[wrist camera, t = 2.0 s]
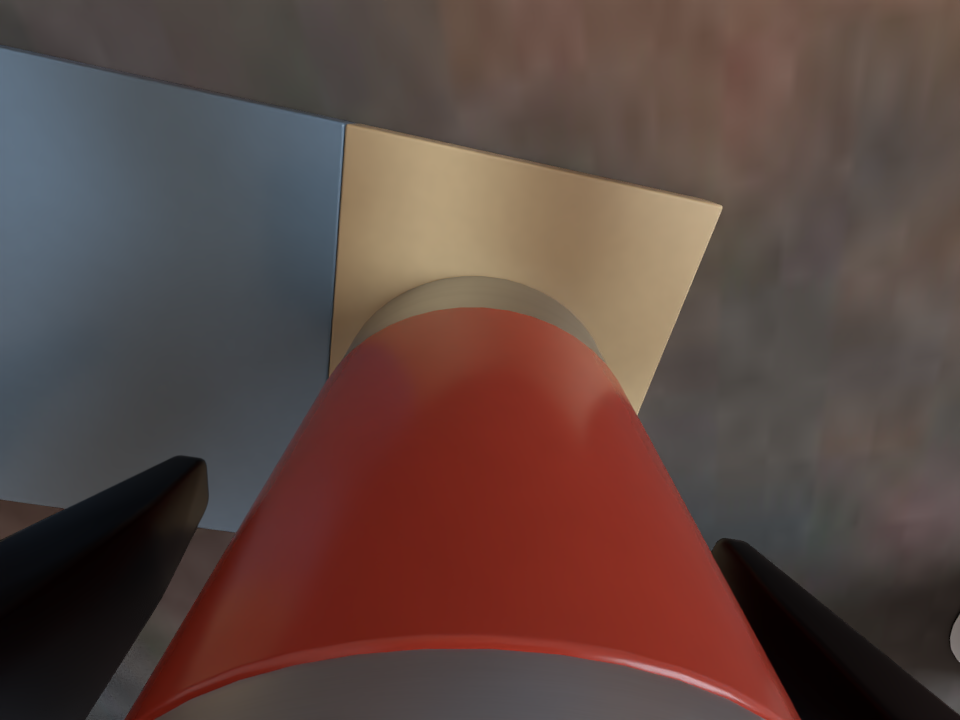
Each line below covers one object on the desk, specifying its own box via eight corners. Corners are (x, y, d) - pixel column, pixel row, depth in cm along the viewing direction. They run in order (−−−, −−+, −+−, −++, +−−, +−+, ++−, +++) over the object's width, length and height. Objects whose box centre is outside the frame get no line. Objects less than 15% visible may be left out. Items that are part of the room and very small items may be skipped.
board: (-282, 430, 13) (-338, 453, 12) (-601, -88, 8) (-734, -114, 7) (564, 553, 15) (569, 580, 14) (703, 198, 10) (724, 206, 9)
